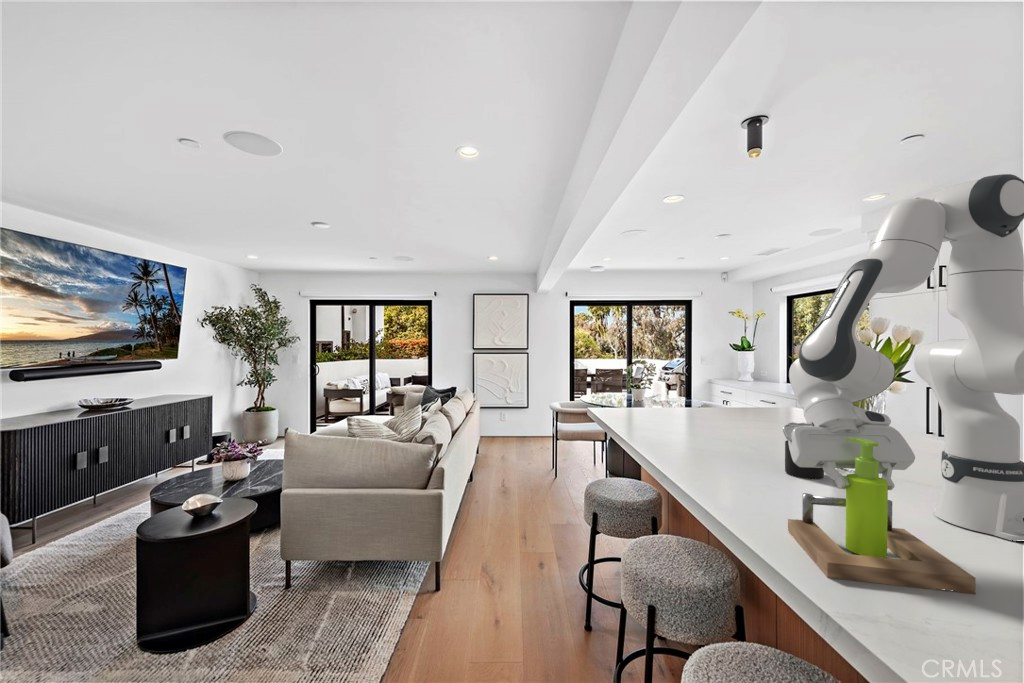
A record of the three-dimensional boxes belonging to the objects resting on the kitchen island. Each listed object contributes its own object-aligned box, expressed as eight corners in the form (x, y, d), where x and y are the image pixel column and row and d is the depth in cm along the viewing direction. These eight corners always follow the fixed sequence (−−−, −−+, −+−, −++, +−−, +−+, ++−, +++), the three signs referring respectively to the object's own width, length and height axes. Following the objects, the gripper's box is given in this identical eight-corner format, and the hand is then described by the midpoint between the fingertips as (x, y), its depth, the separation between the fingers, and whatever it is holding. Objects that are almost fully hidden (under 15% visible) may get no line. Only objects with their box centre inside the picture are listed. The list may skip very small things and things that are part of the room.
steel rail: (888, 527, 86) (889, 499, 86) (894, 531, 85) (894, 502, 85) (800, 519, 90) (801, 492, 90) (804, 523, 88) (804, 496, 88)
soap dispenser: (863, 540, 85) (864, 435, 84) (896, 558, 78) (897, 444, 77) (833, 540, 84) (834, 435, 84) (863, 558, 77) (864, 444, 77)
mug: (828, 484, 119) (828, 450, 119) (779, 473, 129) (779, 442, 128) (839, 477, 125) (839, 445, 125) (792, 467, 134) (792, 438, 134)
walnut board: (903, 541, 86) (903, 528, 86) (975, 593, 68) (975, 577, 68) (787, 531, 91) (787, 519, 91) (827, 577, 73) (827, 562, 73)
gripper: (785, 413, 89) (812, 477, 79) (897, 415, 86) (938, 481, 77) (774, 431, 93) (799, 493, 84) (881, 433, 91) (918, 498, 81)
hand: (866, 488), depth 80 cm, fingers closed on soap dispenser, 6 cm apart
